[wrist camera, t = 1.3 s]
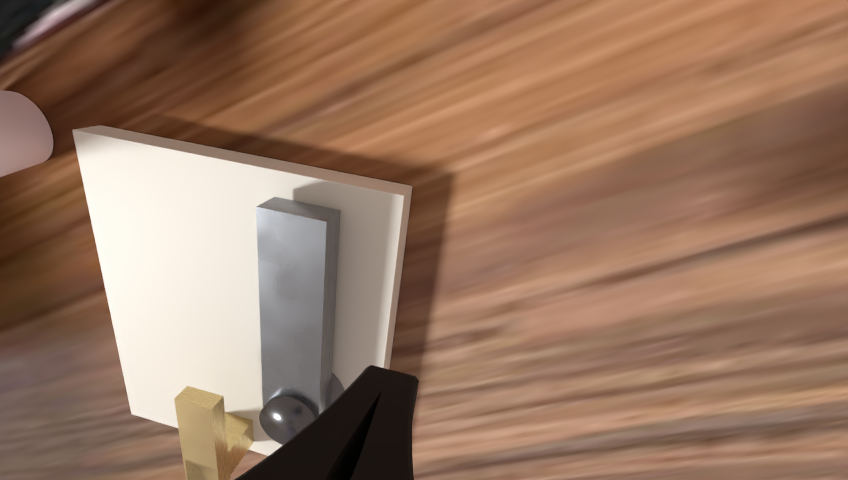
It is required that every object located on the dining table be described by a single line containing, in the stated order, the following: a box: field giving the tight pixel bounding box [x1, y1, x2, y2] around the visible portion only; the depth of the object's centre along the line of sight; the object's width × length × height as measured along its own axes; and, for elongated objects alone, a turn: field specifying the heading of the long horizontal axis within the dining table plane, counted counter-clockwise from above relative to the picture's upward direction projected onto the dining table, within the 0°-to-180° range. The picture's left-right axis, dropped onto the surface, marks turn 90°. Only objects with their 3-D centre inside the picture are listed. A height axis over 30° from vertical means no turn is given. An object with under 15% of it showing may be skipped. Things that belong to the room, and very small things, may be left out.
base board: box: [72, 125, 413, 456], centre depth 23 cm, size 18×16×2 cm
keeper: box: [174, 386, 254, 480], centre depth 23 cm, size 6×2×3 cm, turn 173°
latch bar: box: [256, 197, 341, 445], centre depth 20 cm, size 12×3×2 cm, turn 173°
